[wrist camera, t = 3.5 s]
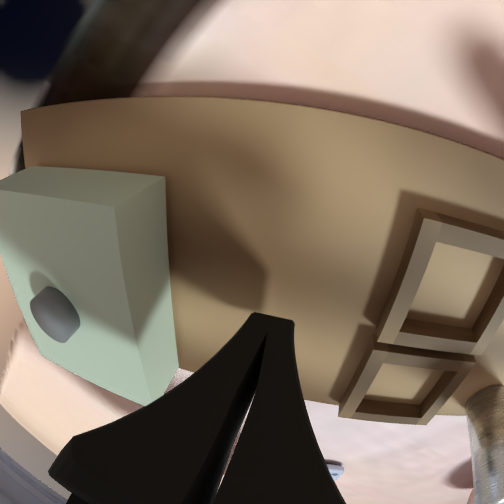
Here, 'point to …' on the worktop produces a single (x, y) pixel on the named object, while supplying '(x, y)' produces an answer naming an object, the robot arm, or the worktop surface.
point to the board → (314, 239)
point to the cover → (93, 274)
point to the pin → (487, 443)
